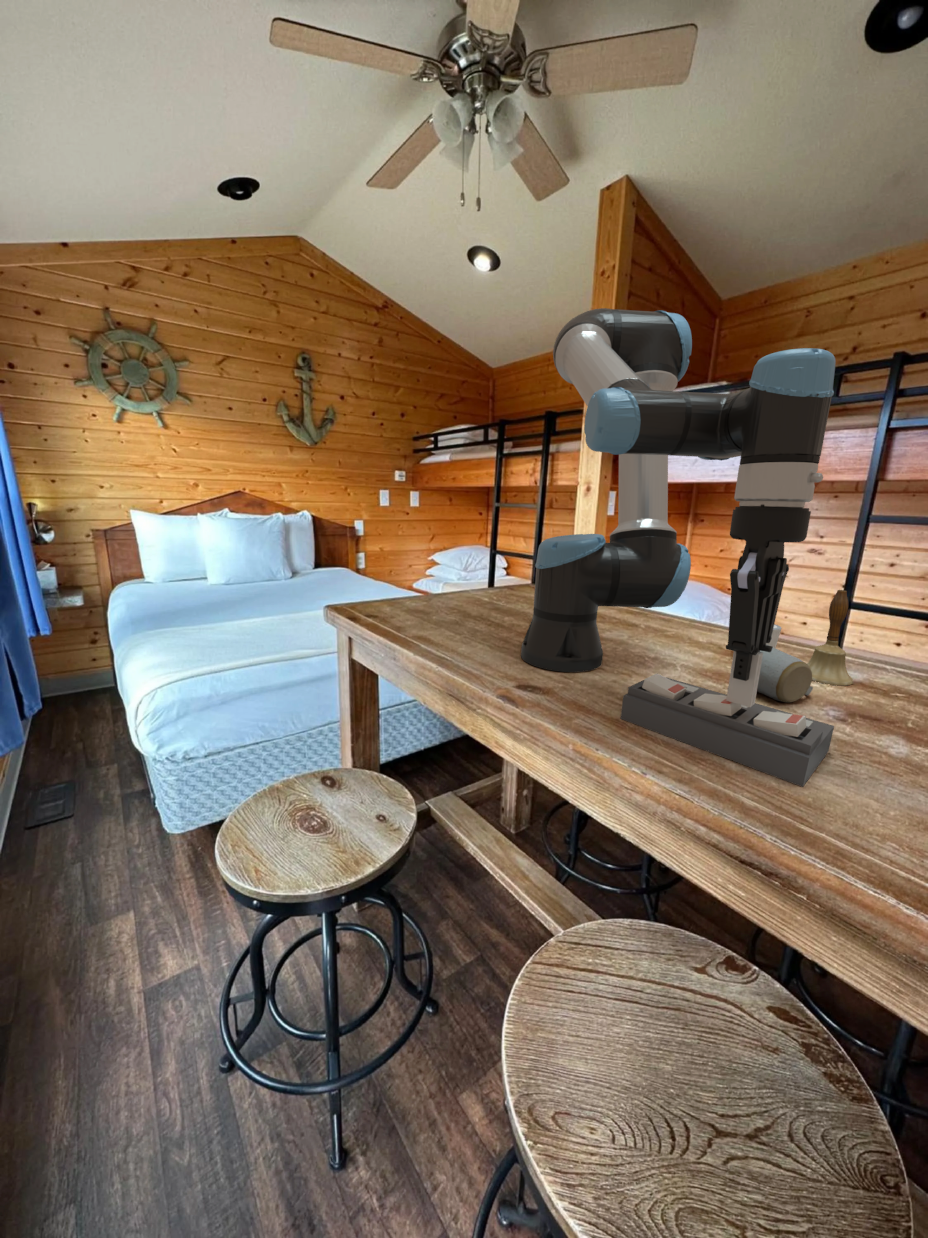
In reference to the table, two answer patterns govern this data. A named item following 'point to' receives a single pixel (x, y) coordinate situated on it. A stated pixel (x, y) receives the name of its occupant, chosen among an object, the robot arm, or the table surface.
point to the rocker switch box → (730, 732)
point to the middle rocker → (716, 704)
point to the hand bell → (832, 648)
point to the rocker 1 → (664, 687)
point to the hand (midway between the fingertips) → (740, 702)
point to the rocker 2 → (781, 723)
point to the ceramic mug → (784, 676)
